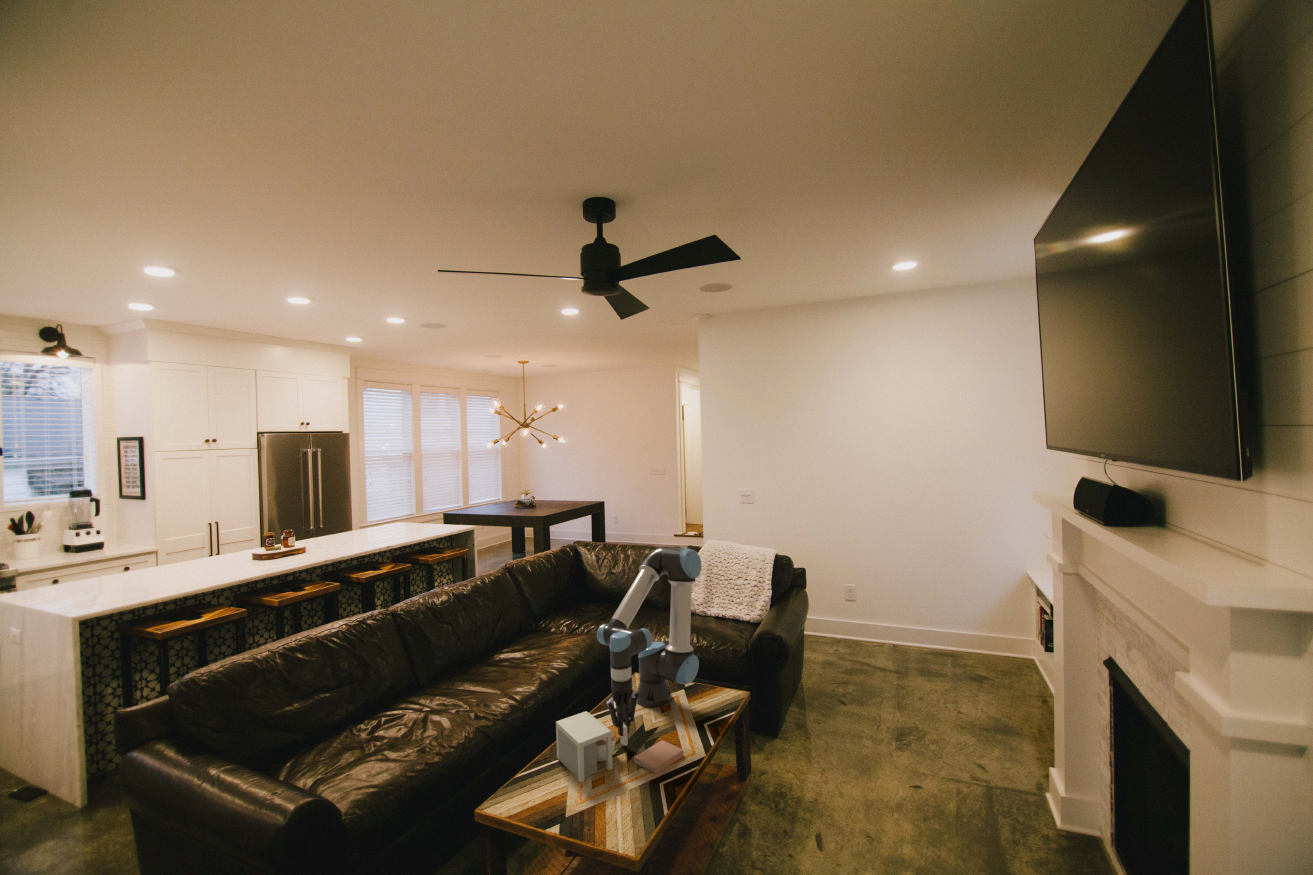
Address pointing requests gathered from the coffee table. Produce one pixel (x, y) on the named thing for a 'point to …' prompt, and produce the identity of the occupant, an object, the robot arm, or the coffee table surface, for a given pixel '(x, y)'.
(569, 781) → the coffee table surface
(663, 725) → the coffee table surface
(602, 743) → the lidded jar
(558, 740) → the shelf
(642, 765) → the book
